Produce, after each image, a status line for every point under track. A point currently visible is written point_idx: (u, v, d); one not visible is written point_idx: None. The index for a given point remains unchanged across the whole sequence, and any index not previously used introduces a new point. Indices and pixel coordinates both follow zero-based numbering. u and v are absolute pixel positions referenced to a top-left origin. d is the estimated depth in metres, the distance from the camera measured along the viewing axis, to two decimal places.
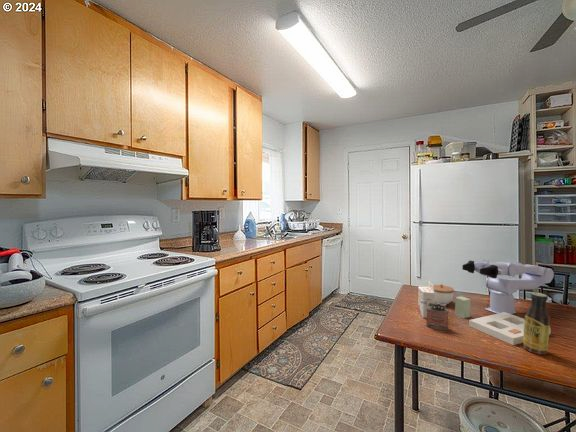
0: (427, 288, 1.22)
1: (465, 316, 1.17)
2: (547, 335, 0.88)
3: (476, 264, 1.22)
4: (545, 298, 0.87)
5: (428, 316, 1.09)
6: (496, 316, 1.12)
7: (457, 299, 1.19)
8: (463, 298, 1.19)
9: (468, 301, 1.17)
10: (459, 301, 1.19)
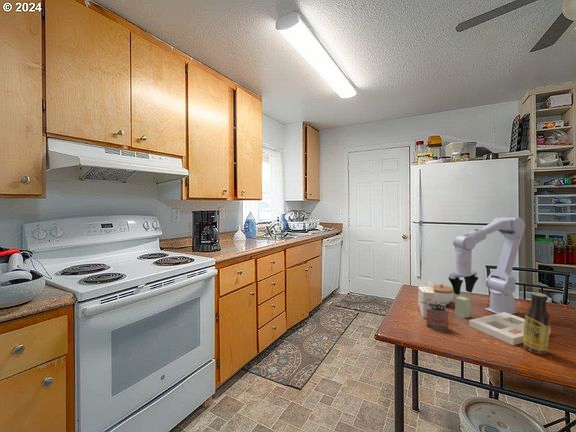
0: (427, 288, 1.22)
1: (465, 316, 1.17)
2: (547, 335, 0.88)
3: None
4: (545, 298, 0.87)
5: (428, 316, 1.09)
6: (496, 316, 1.12)
7: (457, 299, 1.19)
8: (463, 298, 1.19)
9: (468, 301, 1.17)
10: (458, 301, 1.19)
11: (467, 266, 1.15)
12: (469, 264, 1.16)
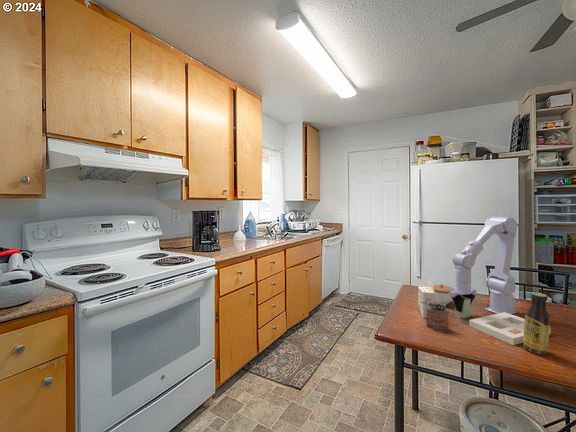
0: (427, 288, 1.22)
1: (465, 316, 1.17)
2: (547, 335, 0.88)
3: None
4: (545, 298, 0.87)
5: (428, 316, 1.09)
6: (496, 316, 1.12)
7: None
8: None
9: (468, 301, 1.17)
10: None
11: (467, 284, 1.16)
12: (469, 282, 1.16)
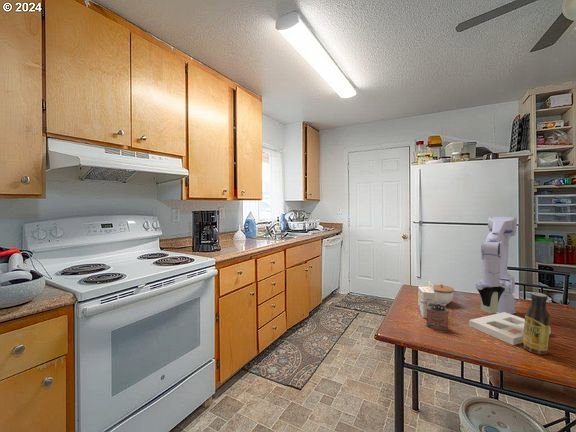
0: (427, 288, 1.22)
1: (492, 311, 1.05)
2: (547, 335, 0.88)
3: None
4: (545, 298, 0.87)
5: (428, 316, 1.09)
6: (496, 316, 1.12)
7: None
8: None
9: (495, 294, 1.06)
10: None
11: (496, 275, 1.04)
12: (498, 273, 1.04)
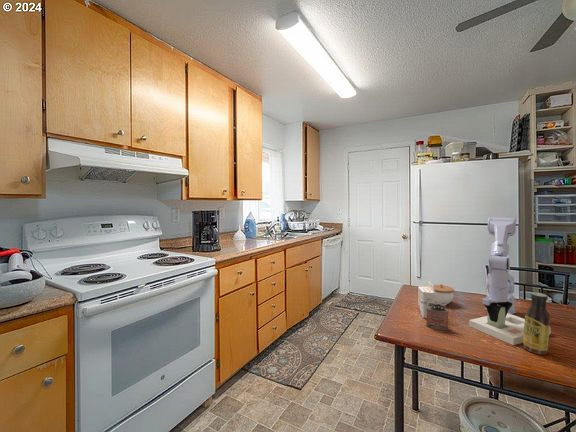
0: (427, 288, 1.22)
1: (500, 327, 1.03)
2: (547, 335, 0.88)
3: None
4: (545, 298, 0.87)
5: (428, 316, 1.09)
6: None
7: None
8: None
9: (503, 310, 1.03)
10: None
11: (503, 291, 1.01)
12: (505, 288, 1.01)
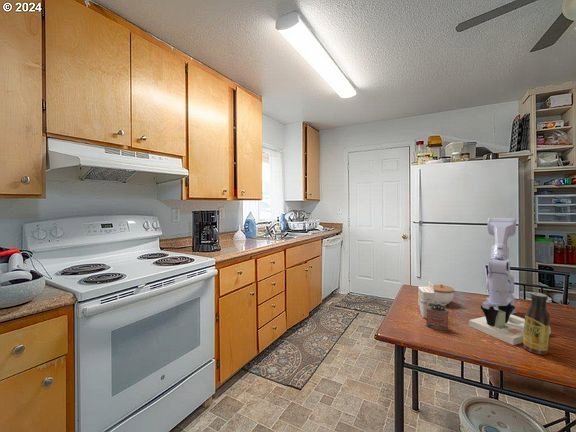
0: (427, 288, 1.22)
1: None
2: (547, 335, 0.88)
3: None
4: (545, 298, 0.87)
5: (428, 316, 1.09)
6: None
7: None
8: None
9: (503, 314, 1.03)
10: None
11: (503, 294, 1.01)
12: (505, 292, 1.01)
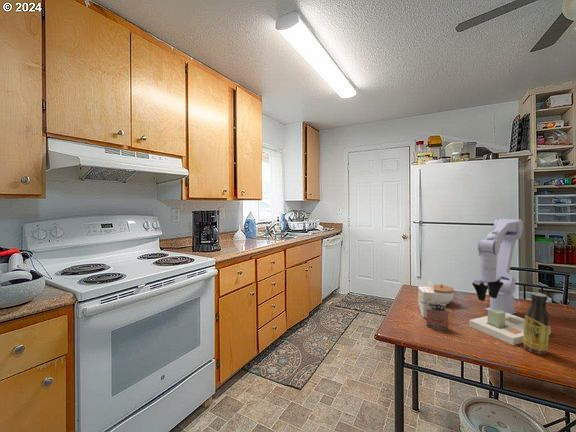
0: (427, 288, 1.22)
1: None
2: (547, 335, 0.88)
3: None
4: (545, 298, 0.87)
5: (428, 316, 1.09)
6: None
7: (490, 312, 1.05)
8: (497, 311, 1.05)
9: (503, 314, 1.03)
10: (492, 314, 1.05)
11: (492, 271, 1.11)
12: (494, 269, 1.11)
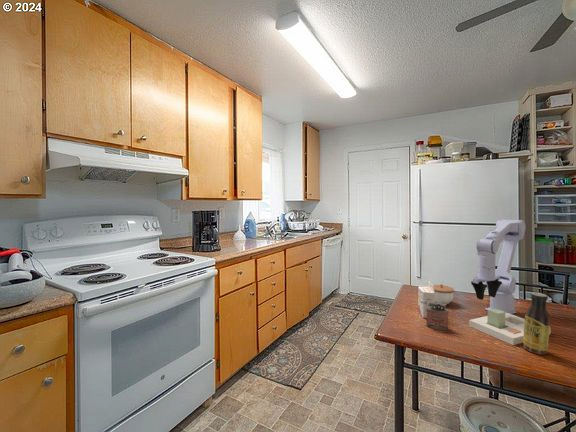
0: (427, 288, 1.22)
1: None
2: (547, 335, 0.88)
3: None
4: (545, 298, 0.87)
5: (428, 316, 1.09)
6: None
7: (490, 312, 1.05)
8: (497, 311, 1.05)
9: (503, 314, 1.03)
10: (492, 314, 1.05)
11: (491, 270, 1.12)
12: (493, 268, 1.12)
